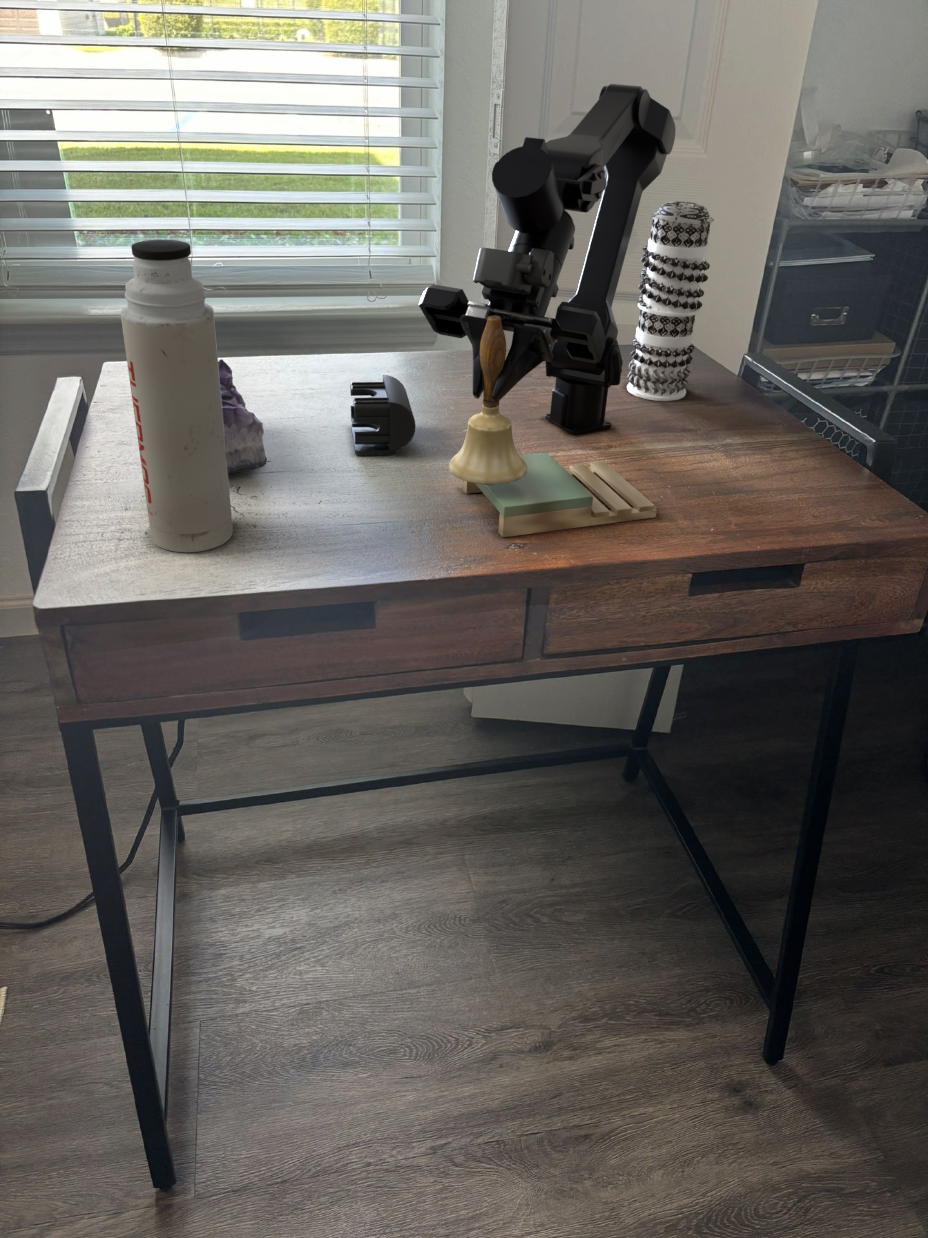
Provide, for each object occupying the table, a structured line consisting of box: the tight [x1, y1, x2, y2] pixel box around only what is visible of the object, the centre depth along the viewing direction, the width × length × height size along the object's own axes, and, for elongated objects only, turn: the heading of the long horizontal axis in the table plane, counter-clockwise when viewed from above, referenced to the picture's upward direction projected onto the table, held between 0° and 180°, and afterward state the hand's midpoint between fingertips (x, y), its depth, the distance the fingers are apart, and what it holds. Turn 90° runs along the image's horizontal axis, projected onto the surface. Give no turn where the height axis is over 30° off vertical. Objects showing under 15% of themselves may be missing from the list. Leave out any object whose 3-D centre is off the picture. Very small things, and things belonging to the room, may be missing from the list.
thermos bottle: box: [120, 238, 234, 553], centre depth 93 cm, size 8×8×28 cm
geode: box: [218, 358, 268, 475], centre depth 115 cm, size 20×12×10 cm, turn 19°
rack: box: [462, 451, 658, 538], centre depth 109 cm, size 18×12×4 cm, turn 110°
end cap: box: [349, 374, 417, 457], centre depth 121 cm, size 10×7×7 cm
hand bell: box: [448, 316, 527, 485], centre depth 101 cm, size 8×8×16 cm
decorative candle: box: [626, 201, 715, 402], centre depth 136 cm, size 9×9×25 cm
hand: (484, 398), depth 100 cm, fingers closed on hand bell
